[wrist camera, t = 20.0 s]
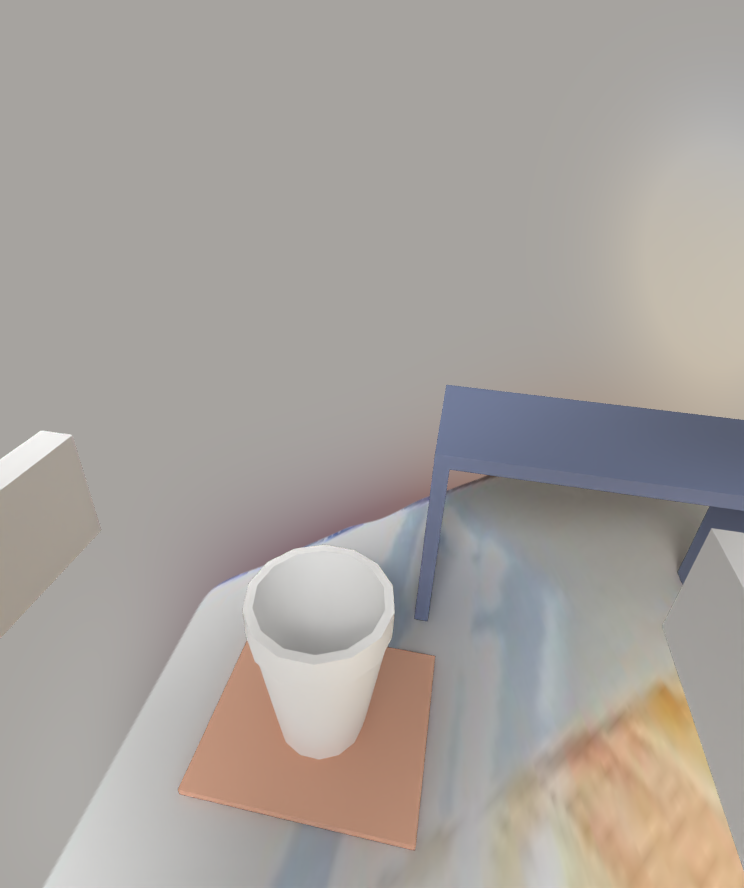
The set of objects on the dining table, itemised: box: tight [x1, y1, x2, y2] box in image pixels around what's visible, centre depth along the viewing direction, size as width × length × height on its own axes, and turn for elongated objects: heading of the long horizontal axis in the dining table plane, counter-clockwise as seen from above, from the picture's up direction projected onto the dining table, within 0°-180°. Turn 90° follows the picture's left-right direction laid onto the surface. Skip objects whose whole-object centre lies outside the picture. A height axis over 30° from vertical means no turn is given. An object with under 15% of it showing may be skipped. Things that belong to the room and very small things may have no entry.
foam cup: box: [242, 545, 395, 759], centre depth 37 cm, size 10×9×13 cm
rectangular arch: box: [415, 385, 744, 621], centre depth 47 cm, size 27×12×18 cm, turn 79°
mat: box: [178, 641, 435, 851], centre depth 40 cm, size 16×14×1 cm
